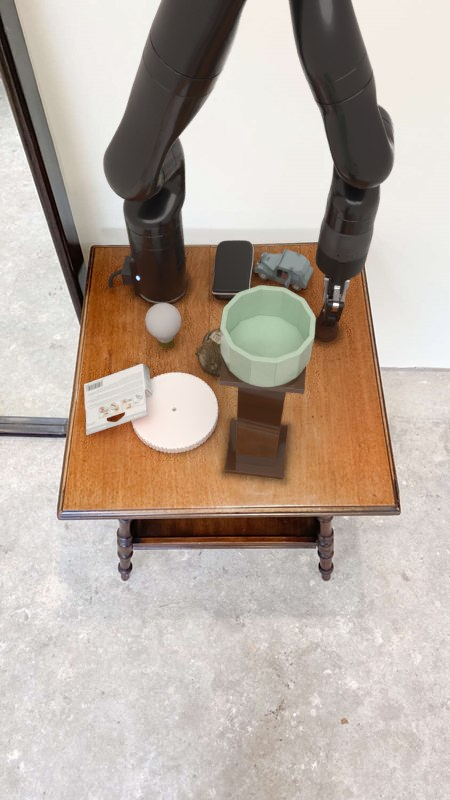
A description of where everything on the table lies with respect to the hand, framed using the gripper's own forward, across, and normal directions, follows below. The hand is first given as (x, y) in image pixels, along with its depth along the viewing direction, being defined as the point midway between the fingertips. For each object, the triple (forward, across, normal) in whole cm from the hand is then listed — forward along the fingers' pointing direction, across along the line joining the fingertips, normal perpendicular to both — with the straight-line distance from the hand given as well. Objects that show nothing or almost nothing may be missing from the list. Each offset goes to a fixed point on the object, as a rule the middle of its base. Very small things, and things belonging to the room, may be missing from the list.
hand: (328, 311), depth 109 cm
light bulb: (+6, +6, -27) cm, 28 cm away
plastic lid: (+5, +20, -23) cm, 31 cm away
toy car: (+6, -10, -8) cm, 14 cm away
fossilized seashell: (+6, +8, -17) cm, 19 cm away
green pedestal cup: (+5, +24, -10) cm, 27 cm away
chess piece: (+6, 0, 0) cm, 6 cm away
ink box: (+2, +15, -34) cm, 37 cm away
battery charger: (+4, -4, -17) cm, 18 cm away
